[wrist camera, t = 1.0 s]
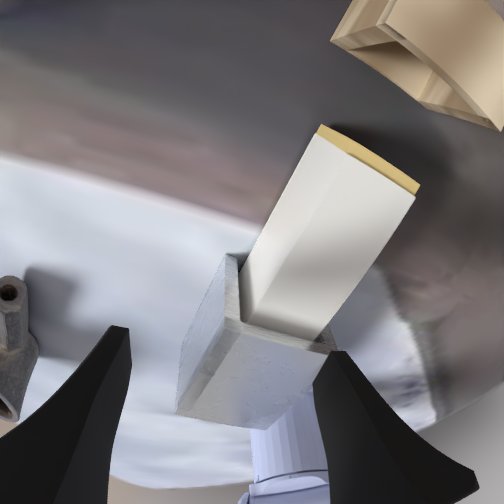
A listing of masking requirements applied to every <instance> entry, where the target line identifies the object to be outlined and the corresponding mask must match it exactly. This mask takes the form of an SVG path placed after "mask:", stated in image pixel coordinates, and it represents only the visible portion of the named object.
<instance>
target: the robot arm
mask: <svg viewBox="0 0 504 504" xmlns="http://www.w3.org/2000/svg"><path fill="white" fill-rule="evenodd" d="M131 369H132V359H131V349H130V338H129V328H124V327H119V326H114V325H112V326H110V327H109V328H108V330H107V331H106V332H105V334H104V335H103V336H102V338H101V339H100V341H99V342H98V343H97V345H96V346H95V347H94V348H93V350H92V351H91V352H90V354H89V355H88V356H87V357H86V358H85V360H84V361H83V362H82V363H81V364H80V366H79V367H78V368H77V369H76V370H75V372H74V373H73V374H72V375H71V376H70V377H69V378H68V379H67V380H66V382H65V383H64V384H63V385H62V386H61V387H60V388H59V389H58V390H57V391H56V392H55V393H54V394H53V395H52V396H51V397H50V398H49V399H48V400H47V401H46V402H45V403H44V404H43V405H42V406H41V407H40V408H39V409H37V410H36V411H35V412H34V413H33V414H32V415H30V416H29V417H28V418H27V419H26V420H24V421H23V422H22V423H21V424H19V425H18V426H17V427H15V428H14V429H12V430H11V431H9V432H8V433H7V434H5V435H4V436H2V437H1V438H0V504H107V497H108V496H107V495H108V481H109V471H110V462H111V454H112V448H113V443H114V439H115V435H116V431H117V427H118V423H119V420H120V416H121V412H122V409H123V405H124V402H125V398H126V395H127V391H128V386H129V380H130V374H131ZM312 386H313V389H312V388H311V389H310V390H309V391H308V392H307V393H306V394H305V395H304V396H303V397H302V398H301V399H300V400H299V401H297V402H296V403H295V404H294V405H293V406H292V407H291V408H290V409H289V410H288V411H287V412H286V413H285V414H284V415H282V416H281V417H280V418H279V419H278V420H277V421H276V422H275V423H273V424H272V425H271V426H270V427H269V428H268V429H267V430H258V429H251V428H250V434H251V447H252V460H253V473H254V484H250V485H249V488H250V493H245V494H244V495H243V496H242V498H241V499H240V500H239V502H238V504H454V503H456V502H458V501H460V500H462V499H463V498H465V497H467V496H469V495H470V494H472V493H474V492H476V491H477V490H478V489H479V484H478V481H477V478H476V476H475V473H474V471H473V470H471V469H469V468H467V467H465V466H463V465H461V464H459V463H457V462H455V461H454V460H452V459H451V458H449V457H447V456H446V455H444V454H443V453H441V452H440V451H438V450H437V449H435V448H434V447H433V446H431V445H430V444H429V443H428V442H426V441H425V440H424V439H423V438H421V437H420V436H419V435H418V434H417V433H416V432H414V431H413V430H412V429H411V428H410V427H409V426H408V425H407V424H406V423H405V422H404V421H403V420H402V419H401V418H400V417H399V416H398V415H397V414H396V413H395V412H394V411H393V409H392V408H391V407H390V406H389V405H388V404H387V403H386V402H385V400H384V399H383V398H382V397H381V396H380V394H379V393H378V392H377V391H376V390H375V388H374V387H373V386H372V385H371V383H370V382H369V381H368V379H367V378H366V377H365V376H364V374H363V373H362V372H361V370H360V369H359V368H358V366H357V365H356V364H355V363H354V361H353V360H352V359H351V357H350V356H349V355H348V354H347V353H346V351H331V352H330V353H329V355H328V357H327V359H326V360H325V362H324V364H323V366H322V367H321V369H320V371H319V372H318V374H317V376H316V378H315V379H314V381H313V383H312Z"/></svg>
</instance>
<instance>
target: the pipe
mask: <svg viewBox="0 0 504 504" xmlns="http://www.w3.org/2000/svg"><path fill="white" fill-rule="evenodd" d="M28 323H29V311H28V291H27V287H26V284H25V282H24V281H22V280H20V279H19V278H17V277H15V276H4V277H2V278H1V279H0V418H1V419H3V420H5V421H8V422H12V423H14V422H17V421H19V419H20V412H21V408H22V404H23V400H24V396H25V392H26V389H27V386H28V383H29V380H30V377H31V374H32V372H33V369H34V367H35V364H36V362H37V359H38V353H39V348H38V344H37V341H36V340H35V338H34V337H33V336H32V335H31V334H30V333H29V331H28V326H29V325H28Z"/></svg>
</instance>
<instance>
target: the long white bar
mask: <svg viewBox="0 0 504 504" xmlns="http://www.w3.org/2000/svg"><path fill="white" fill-rule="evenodd" d="M419 186H420V184H418V183H417V182H416V181H414V180H413V179H412V178H410V177H409V176H407V175H406V174H404V173H403V172H402V171H400V170H399V169H397V168H396V167H394V166H393V165H391V164H390V163H388V162H387V161H385V160H384V159H382V158H381V157H379V156H378V155H376V154H374V153H373V152H371V151H370V150H368V149H367V148H365V147H363V146H362V145H360V144H358V143H357V142H355V141H354V140H352V139H350V138H348V137H346V136H344V135H342V134H340V133H338V132H336V131H334V130H332V129H330V128H328V127H326V126H324V125H322V124H321V125H320V127H319V129H318V131H317V133H315V134H314V136H313V138H312V140H311V141H310V143H309V145H308V147H307V149H306V151H305V152H304V154H303V156H302V158H301V160H300V162H299V164H298V165H297V167H296V169H295V171H294V173H293V175H292V177H291V178H290V180H289V182H288V184H287V186H286V188H285V190H284V191H283V193H282V195H281V197H280V199H279V201H278V202H277V204H276V206H275V208H274V210H273V212H272V214H271V215H270V217H269V219H268V221H267V223H266V225H265V227H264V228H263V230H262V232H261V234H260V236H259V238H258V240H257V241H256V243H255V245H254V247H253V249H252V251H251V253H250V254H249V256H248V258H247V260H246V262H245V264H244V266H243V267H242V269H241V271H240V273H239V275H238V287H239V307H240V321H241V322H244V323H248V324H251V325H254V326H258V327H261V328H265V329H268V330H272V331H275V332H279V333H283V334H286V335H290V336H294V337H298V338H301V339H305V340H309V341H314V340H315V338H316V337H317V336H318V335H319V334H320V332H321V331H322V330H323V329H324V327H325V326H326V325H327V324H328V322H329V321H330V320H331V319H332V317H333V316H334V315H335V313H336V312H337V311H338V310H339V308H340V307H341V306H342V304H343V303H344V302H345V301H346V299H347V298H348V297H349V295H350V294H351V293H352V291H353V290H354V289H355V287H356V286H357V284H358V283H359V282H360V280H361V279H362V278H363V276H364V275H365V273H366V272H367V271H368V269H369V268H370V266H371V265H372V264H373V262H374V261H375V259H376V258H377V257H378V255H379V254H380V252H381V251H382V249H383V248H384V246H385V245H386V243H387V242H388V240H389V239H390V237H391V236H392V234H393V233H394V231H395V230H396V228H397V227H398V225H399V224H400V222H401V221H402V219H403V218H404V216H405V214H406V213H407V211H408V210H409V208H410V206H411V205H412V203H413V202H414V200H415V198H416V197H415V196H414V195H415V193H416V191H417V190H418V188H419Z"/></svg>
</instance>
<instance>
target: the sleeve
mask: <svg viewBox="0 0 504 504" xmlns="http://www.w3.org/2000/svg"><path fill="white" fill-rule="evenodd" d="M331 351H338V350H337V347H336V344H335V341H334V338H333V335H332V332H331V330H330V327H329V324H327V325H326V326H325V327H324V329H323V330H322V331H321V332H320V334H319V335H318V336H317V337H316V338H315V340H314V341H309V340H305V339H301V338H298V337H294V336H290V335H286V334H283V333H279V332H275V331H272V330H268V329H265V328H261V327H258V326H254V325H251V324H248V323H244V322H241V321H240V307H239V287H238V266H237V258H235V257H233V256H230V255H227V254H225V255H224V258H223V260H222V262H221V264H220V266H219V268H218V270H217V272H216V274H215V276H214V278H213V280H212V282H211V284H210V286H209V288H208V290H207V292H206V294H205V297H204V299H203V301H202V303H201V305H200V307H199V309H198V311H197V313H196V315H195V317H194V319H193V322H192V324H191V326H190V328H189V330H188V332H187V334H186V336H185V338H184V341H183V343H182V350H181V358H180V366H179V374H178V383H177V392H176V402H175V411H174V414H178V415H182V416H186V417H191V418H195V419H200V420H205V421H210V422H215V423H220V424H226V425H231V426H238V427H244V428H251V429H258V430H267V429H268V428H269V427H270V426H271V425H272V424H273V423H275V422H276V421H277V420H278V419H279V418H280V417H281V416H282V415H284V414H285V413H286V412H287V411H288V410H289V409H290V408H291V407H292V406H293V405H294V404H295V403H296V402H297V401H299V400H300V399H301V398H302V397H303V396H304V395H305V394H306V393H307V392H308V391H309V390H310V389H311V388H312V387H313V386H312V383H313V381H314V379H315V378H316V376H317V374H318V372H319V371H320V369H321V367H322V366H323V364H324V362H325V360H326V359H327V357H328V355H329V353H330V352H331Z"/></svg>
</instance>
